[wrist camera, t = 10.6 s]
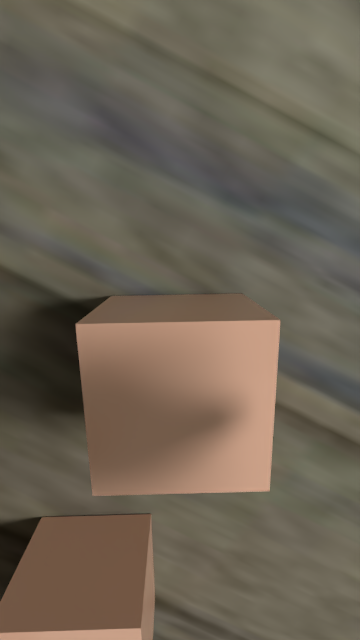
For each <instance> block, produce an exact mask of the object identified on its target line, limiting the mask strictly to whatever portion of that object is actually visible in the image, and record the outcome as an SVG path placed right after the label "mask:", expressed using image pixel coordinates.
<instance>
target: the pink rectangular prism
mask: <svg viewBox="0 0 360 640" xmlns="http://www.w3.org/2000/svg"><path fill="white" fill-rule="evenodd" d="M154 606H155V585H154V564H153V544H152V524H151V514H135V515H101V516H66V517H42V518H41V520H40V522H39V524H38V526H37V528H36V530H35V532H34V534H33V536H32V538H31V540H30V542H29V544H28V546H27V548H26V550H25V552H24V554H23V556H22V558H21V560H20V562H19V564H18V566H17V568H16V571H15V573H14V575H13V577H12V579H11V581H10V583H9V585H8V587H7V589H6V591H5V593H4V595H3V597H2V599H1V601H0V640H153V624H154Z"/></svg>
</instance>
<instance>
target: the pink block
mask: <svg viewBox="0 0 360 640" xmlns="http://www.w3.org/2000/svg"><path fill="white" fill-rule="evenodd" d="M75 325H76V335H77V345H78V355H79V365H80V375H81V385H82V395H83V404H84V414H85V424H86V434H87V444H88V454H89V464H90V474H91V484H92V494H93V496H108V495H146V494H183V493H220V492H258V491H270V475H271V459H272V444H273V428H274V412H275V397H276V381H277V365H278V349H279V334H280V319H278V318H277V317H275V316H274V315H272V314H271V313H270V312H268V311H267V310H265V309H264V308H262V307H261V306H260V305H258V304H257V303H255V302H254V301H252V300H251V299H250V298H248V297H247V296H245V295H244V294H189V295H135V296H111V297H109V298H108V299H107V300H105V301H104V302H103V303H102V304H100V305H99V306H98V307H97V308H95V309H94V310H93V311H91V312H90V313H89V314H88V315H86V316H85V317H84V318H83V319H81V320H80V321H79V322H77V323H76V324H75Z"/></svg>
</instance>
